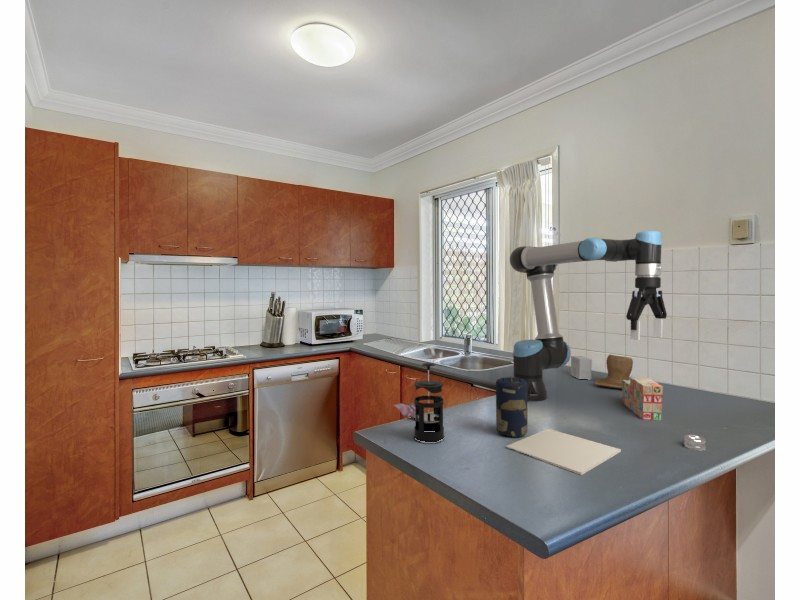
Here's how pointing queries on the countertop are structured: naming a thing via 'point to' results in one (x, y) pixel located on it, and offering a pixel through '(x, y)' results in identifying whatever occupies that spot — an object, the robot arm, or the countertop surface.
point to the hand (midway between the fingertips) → (646, 338)
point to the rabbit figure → (406, 409)
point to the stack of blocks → (643, 397)
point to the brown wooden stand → (616, 371)
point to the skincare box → (581, 367)
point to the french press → (428, 419)
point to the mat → (565, 450)
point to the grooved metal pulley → (694, 442)
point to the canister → (511, 406)
